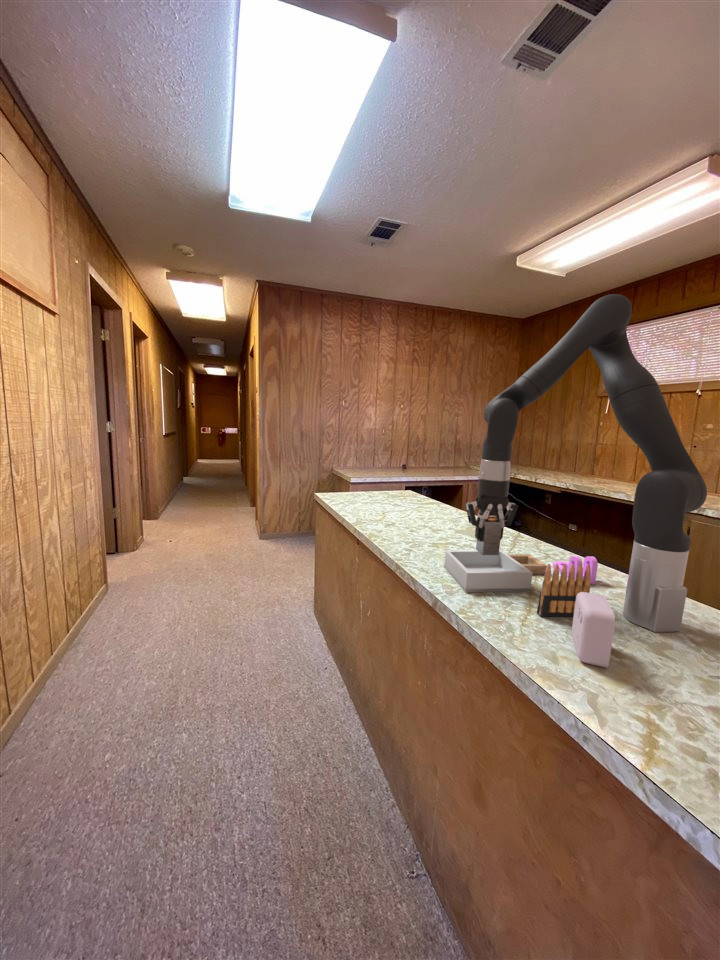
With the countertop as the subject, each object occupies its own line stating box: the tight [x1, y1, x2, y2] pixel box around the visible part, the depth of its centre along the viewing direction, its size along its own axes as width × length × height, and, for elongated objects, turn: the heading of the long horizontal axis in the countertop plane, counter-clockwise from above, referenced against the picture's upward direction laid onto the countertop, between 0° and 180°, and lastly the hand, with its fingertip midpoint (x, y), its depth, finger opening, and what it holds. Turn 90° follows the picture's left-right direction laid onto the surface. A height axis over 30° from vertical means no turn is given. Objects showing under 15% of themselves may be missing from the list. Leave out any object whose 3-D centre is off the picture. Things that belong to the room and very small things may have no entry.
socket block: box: [506, 553, 548, 575], centre depth 110 cm, size 9×9×2 cm
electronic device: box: [571, 592, 616, 669], centre depth 70 cm, size 10×5×10 cm, turn 159°
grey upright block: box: [475, 515, 502, 555], centre depth 101 cm, size 4×4×10 cm
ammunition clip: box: [536, 563, 591, 619], centre depth 83 cm, size 11×2×12 cm, turn 92°
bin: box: [443, 550, 533, 593], centre depth 102 cm, size 16×17×5 cm
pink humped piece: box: [552, 555, 599, 585], centre depth 107 cm, size 13×6×7 cm, turn 2°
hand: (488, 540), depth 101 cm, fingers closed on grey upright block, 4 cm apart
